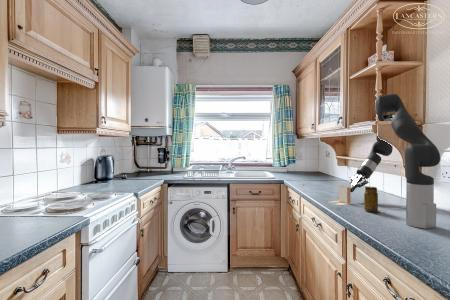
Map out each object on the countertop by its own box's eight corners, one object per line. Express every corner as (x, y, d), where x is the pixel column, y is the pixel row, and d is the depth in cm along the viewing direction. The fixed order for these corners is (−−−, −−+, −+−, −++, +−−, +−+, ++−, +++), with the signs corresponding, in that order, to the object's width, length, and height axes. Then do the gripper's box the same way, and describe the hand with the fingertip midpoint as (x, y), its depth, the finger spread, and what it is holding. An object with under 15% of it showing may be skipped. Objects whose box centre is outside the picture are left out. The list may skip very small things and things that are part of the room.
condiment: (367, 208, 142) (367, 185, 142) (384, 211, 135) (385, 187, 135) (360, 211, 137) (360, 187, 137) (378, 214, 131) (378, 189, 130)
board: (352, 204, 152) (352, 203, 152) (339, 205, 149) (339, 205, 149) (340, 201, 160) (340, 200, 160) (328, 202, 157) (328, 201, 157)
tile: (350, 203, 153) (350, 187, 152) (347, 203, 152) (347, 187, 152) (341, 200, 159) (341, 185, 159) (338, 201, 158) (338, 185, 158)
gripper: (354, 163, 166) (337, 185, 162) (372, 165, 153) (355, 188, 150) (361, 172, 168) (345, 193, 164) (380, 174, 155) (362, 197, 151)
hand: (350, 191), depth 157 cm, fingers closed
